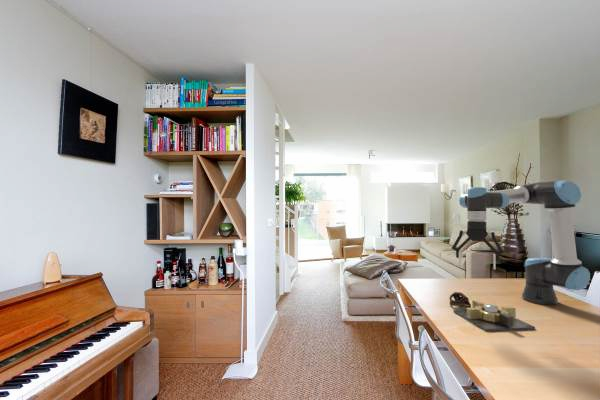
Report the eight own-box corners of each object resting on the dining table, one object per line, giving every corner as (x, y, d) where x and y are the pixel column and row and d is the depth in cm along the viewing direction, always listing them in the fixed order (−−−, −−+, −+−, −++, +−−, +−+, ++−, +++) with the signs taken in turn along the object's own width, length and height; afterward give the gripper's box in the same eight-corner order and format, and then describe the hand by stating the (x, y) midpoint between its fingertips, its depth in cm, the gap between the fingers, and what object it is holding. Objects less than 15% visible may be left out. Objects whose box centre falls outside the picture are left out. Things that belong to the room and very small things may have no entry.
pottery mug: (476, 311, 145) (470, 297, 143) (457, 318, 146) (451, 305, 145) (464, 297, 156) (458, 285, 155) (447, 304, 158) (441, 292, 156)
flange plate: (495, 310, 143) (495, 297, 144) (535, 329, 121) (534, 313, 122) (453, 312, 142) (453, 298, 142) (485, 331, 120) (485, 315, 120)
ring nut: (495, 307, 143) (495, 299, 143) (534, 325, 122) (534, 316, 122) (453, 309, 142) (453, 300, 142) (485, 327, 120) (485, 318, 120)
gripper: (445, 220, 137) (445, 264, 137) (510, 222, 123) (510, 272, 122) (447, 219, 144) (447, 262, 143) (509, 221, 129) (510, 269, 129)
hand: (476, 267), depth 133 cm, fingers open, 13 cm apart
